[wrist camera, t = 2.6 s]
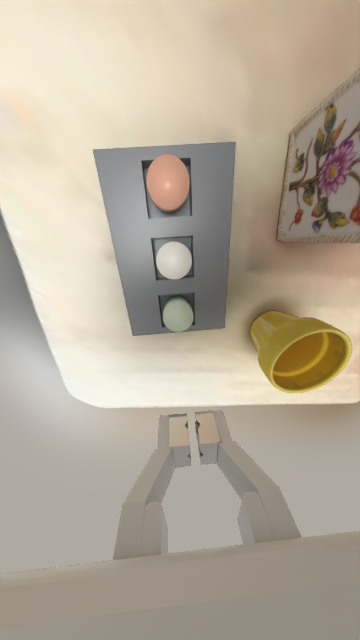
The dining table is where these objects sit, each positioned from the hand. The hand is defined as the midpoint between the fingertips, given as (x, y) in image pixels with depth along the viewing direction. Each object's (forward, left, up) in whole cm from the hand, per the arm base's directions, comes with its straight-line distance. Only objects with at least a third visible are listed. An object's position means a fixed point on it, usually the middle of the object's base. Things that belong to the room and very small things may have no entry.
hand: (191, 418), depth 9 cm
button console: (0, -7, -19) cm, 20 cm away
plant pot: (-16, +6, -19) cm, 26 cm away
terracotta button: (0, -14, -17) cm, 22 cm away
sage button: (0, 0, -17) cm, 17 cm away
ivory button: (0, -7, -17) cm, 18 cm away
